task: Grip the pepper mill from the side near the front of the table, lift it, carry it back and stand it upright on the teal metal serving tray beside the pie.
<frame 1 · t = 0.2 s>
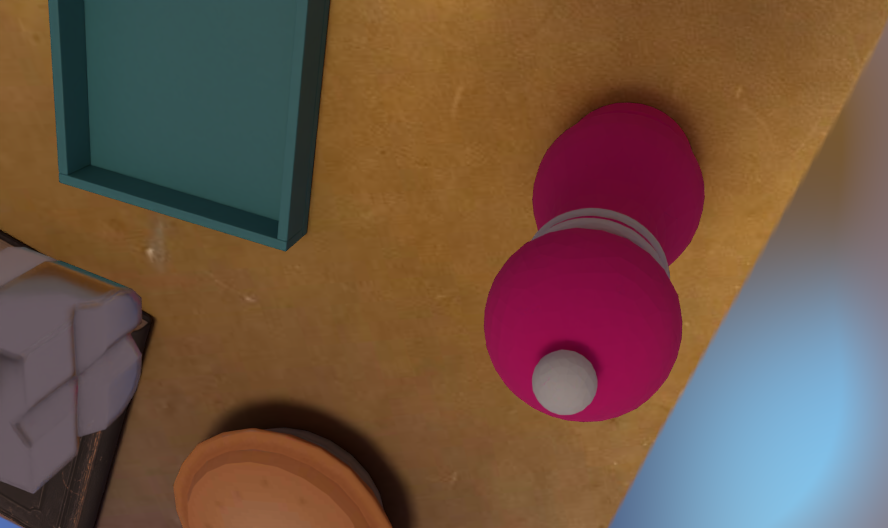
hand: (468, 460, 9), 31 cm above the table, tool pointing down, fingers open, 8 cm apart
pie: (308, 493, 54), on the table
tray: (199, 53, 42), on the table
hardcover book: (30, 382, 58), on the table
pepper mill: (625, 164, 39), on the table
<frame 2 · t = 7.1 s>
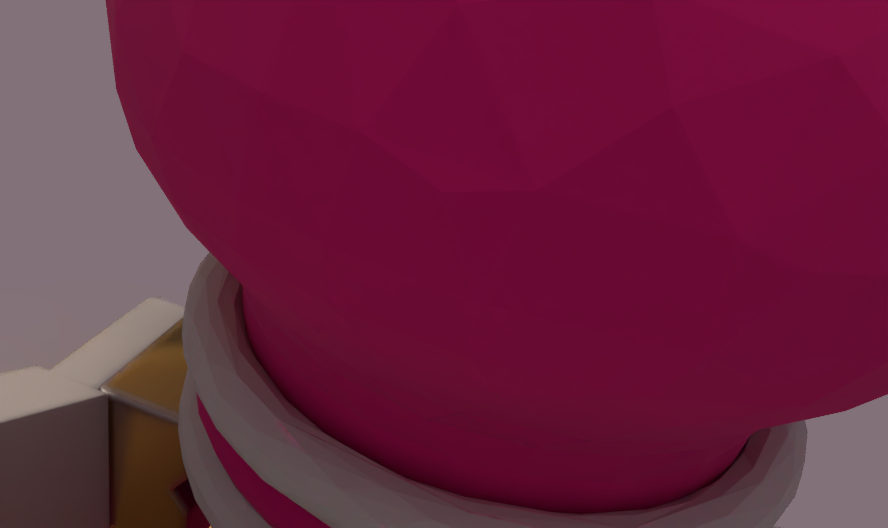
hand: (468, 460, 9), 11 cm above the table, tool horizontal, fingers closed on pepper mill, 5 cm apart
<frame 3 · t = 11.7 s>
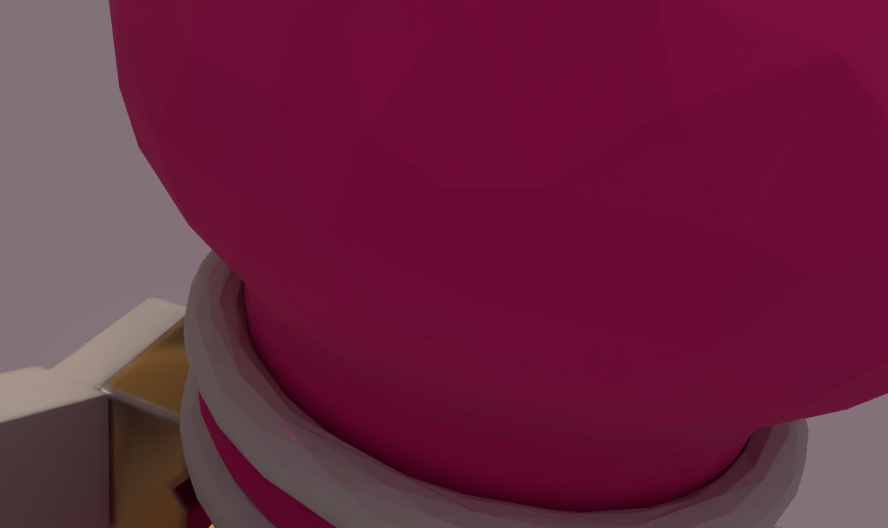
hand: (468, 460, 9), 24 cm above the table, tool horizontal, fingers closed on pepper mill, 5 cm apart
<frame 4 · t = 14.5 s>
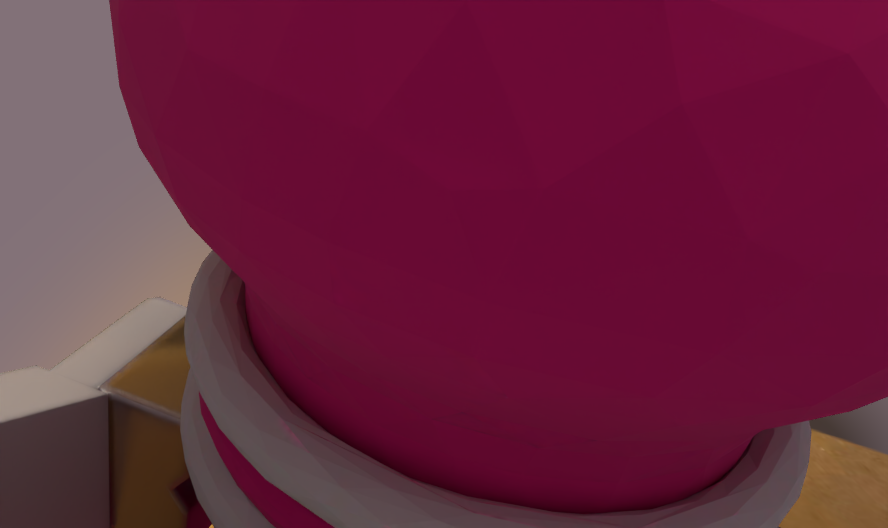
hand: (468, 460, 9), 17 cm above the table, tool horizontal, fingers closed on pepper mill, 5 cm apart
when the fingers open (12 cm above the table, at t = 16.5 s): pepper mill stays where it is, resting on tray.
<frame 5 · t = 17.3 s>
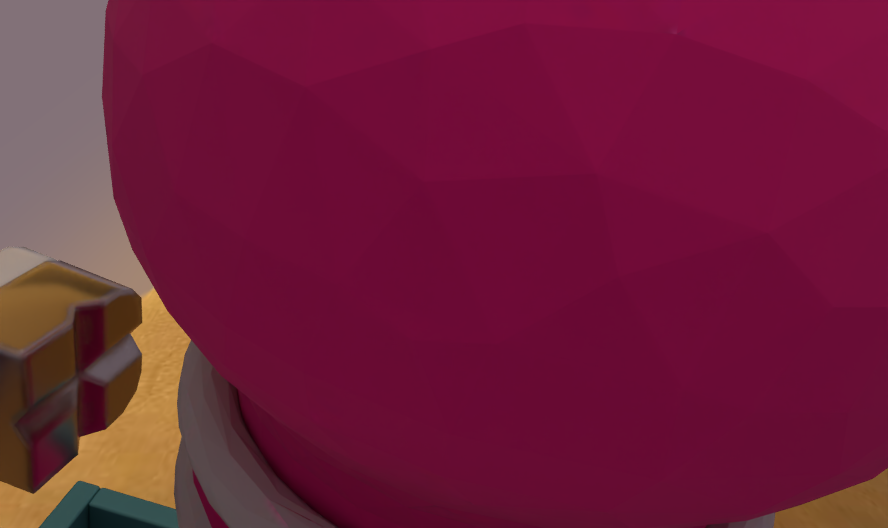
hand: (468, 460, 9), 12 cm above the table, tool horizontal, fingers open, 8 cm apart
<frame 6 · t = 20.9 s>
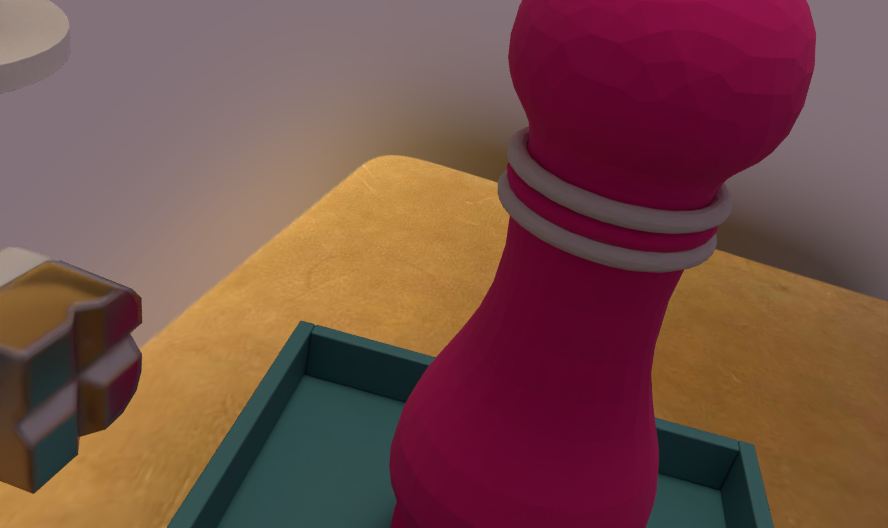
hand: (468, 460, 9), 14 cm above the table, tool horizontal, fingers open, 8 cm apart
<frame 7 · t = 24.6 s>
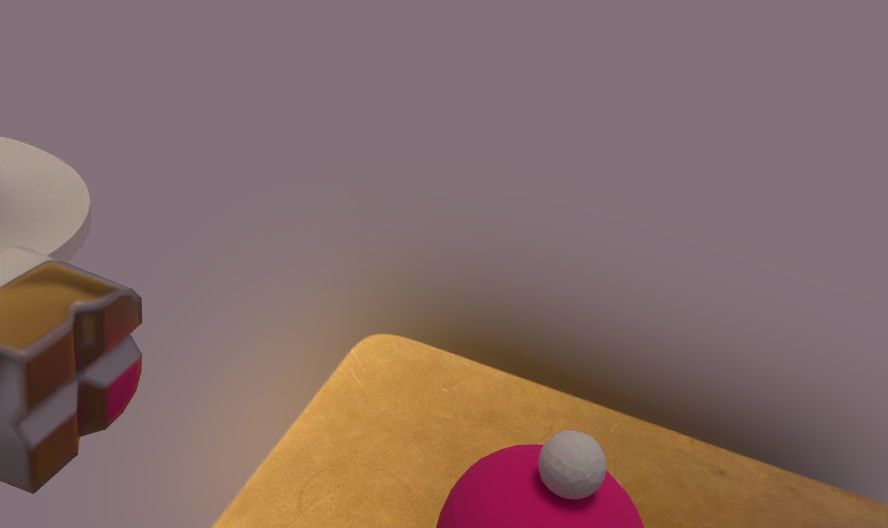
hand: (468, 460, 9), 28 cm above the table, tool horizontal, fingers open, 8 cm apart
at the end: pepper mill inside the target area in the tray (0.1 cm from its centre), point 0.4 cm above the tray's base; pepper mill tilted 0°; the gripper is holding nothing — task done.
